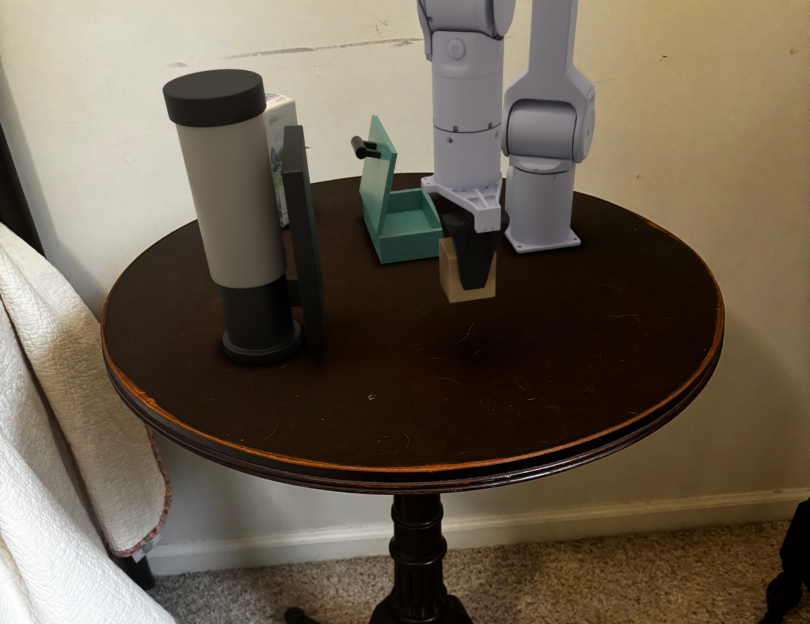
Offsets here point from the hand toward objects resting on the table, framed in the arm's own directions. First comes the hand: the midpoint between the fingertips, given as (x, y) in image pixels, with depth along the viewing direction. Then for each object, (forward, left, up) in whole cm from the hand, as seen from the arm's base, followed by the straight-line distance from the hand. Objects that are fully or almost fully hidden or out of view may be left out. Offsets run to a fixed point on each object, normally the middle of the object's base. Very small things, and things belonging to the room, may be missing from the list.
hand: (466, 275), depth 76 cm
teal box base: (-28, -1, -8) cm, 29 cm away
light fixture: (-7, -19, -8) cm, 22 cm away
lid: (-28, -4, 0) cm, 28 cm away
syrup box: (-39, -16, -8) cm, 43 cm away
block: (0, 0, -1) cm, 1 cm away
